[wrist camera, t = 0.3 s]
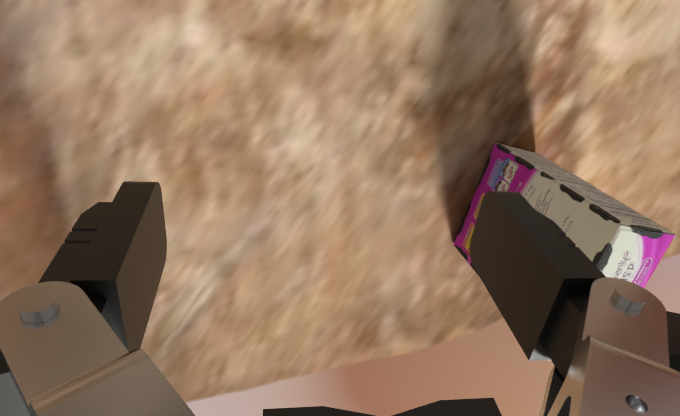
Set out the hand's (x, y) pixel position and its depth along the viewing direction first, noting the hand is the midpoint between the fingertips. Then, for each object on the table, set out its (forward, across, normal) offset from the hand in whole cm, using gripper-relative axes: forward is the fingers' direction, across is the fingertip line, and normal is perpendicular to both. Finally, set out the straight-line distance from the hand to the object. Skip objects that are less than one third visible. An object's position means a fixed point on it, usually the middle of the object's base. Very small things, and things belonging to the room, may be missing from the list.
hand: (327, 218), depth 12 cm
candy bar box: (+28, -20, +15) cm, 38 cm away
